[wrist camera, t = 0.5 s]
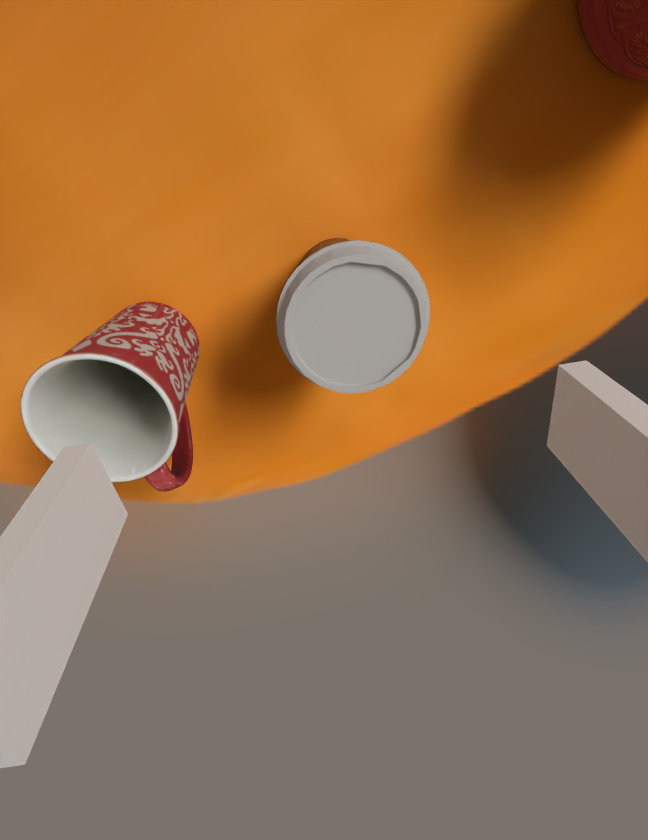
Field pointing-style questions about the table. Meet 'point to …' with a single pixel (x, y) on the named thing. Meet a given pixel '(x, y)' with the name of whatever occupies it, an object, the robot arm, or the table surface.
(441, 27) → the table surface
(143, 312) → the mug
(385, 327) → the disposable coffee cup
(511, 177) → the table surface
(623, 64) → the canister
